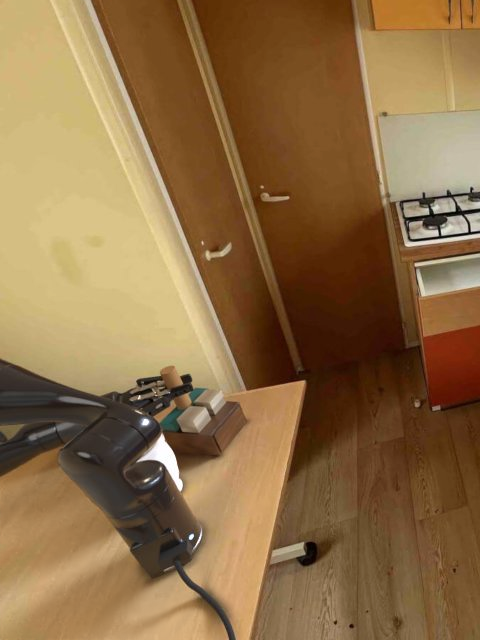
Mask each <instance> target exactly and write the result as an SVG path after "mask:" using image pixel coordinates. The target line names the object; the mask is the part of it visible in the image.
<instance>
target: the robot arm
mask: <svg viewBox="0 0 480 640" xmlns="http://www.w3.org/2000/svg"><path fill="white" fill-rule="evenodd" d="M179 376H180V378H181V380H182V382H183V384H182V385H180V386H177V387H174V388H171V391H170V390H168V388H167V386H166V384H165V382H164V380H163V378H162V376H161V375H156V376H149V377H140V378H138V379H136V381H135V382H136V385H135V386H134V387H132V388H130V389H128V390H127V391H124V392H118V391H111V392H107V393H105V394H102V395H96V394H93V393H90V392H87V391H84V390H80V389H77V388H74V387H72V386H69V385H66V384H64V383H61V382H58V381H56V380H54V379H51V378H49V377H46V376H44V375H41V374H39V373H36V372H35V371H32V370H30V369H28V368H26V367H24V366H21V365H19V364H16V363H14V362H12V361H9V360H6V359H4V358H2V357H0V426H1V427H4V426H18V425H21V426H20V427H19V428H18V430H17V431H16V432H15V433H14V434H13V435H12V436H11V437H10V438H8V436H7V435H6V433H4V431H2V430H1V429H0V478H2V477H4V476H6V475H7V474H9V473H11V472H13V471H15V470H17V469H18V468H20V467H22V466H23V465H25V464H27V463H29V462H31V461H32V460H34V459H35V458H37V457H39V456H40V455H42V454H46V453H49V452H51V451H54V450H57V449H59V448H60V450H59V451H58V452H57V462H58V465H59V466H60V469H61V470H62V471H63V472H64V473H65V475H66V476H67V478H69V479H70V480H71V481H72V482H73V483H74V484H75V485H76V486H77V487H78V488H79V490H80V491H81V492H82V493H83V494H84V495H85V497H86V498H87V499H88V500H89V501H90V502H91V503H92V504H94V506H96V507H97V508H98V509H100V511H101V512H102V513H103V514H104V515H105V517H106V518H107V520H108V521H109V522H110V523H111V525H112V527H113V528H114V529H115V530H116V532H117V534H118V535H119V536H120V537H121V538H122V540H123V541H124V542H125V544H126V546H127V547H128V548H129V552H130V554H131V555H132V556H133V558H134V559H135V560H136V562H137V563H138V564H139V565H140V567H141V568H142V570H143V571H144V572H145V574H146V575H147V576H148V577H149V579H150V580H153V579H155V578H157V577H160V576H161V575H162V576H163V575H164V574H166V573H169V572H171V571H173V570H176V571H177V574H178V575H179V577H180V578H181V580H182V581H183V583H184V584H185V585H186V586H187V587H188V588H189V589H190V590H192V591H193V592H194V593H197V594H198V595H199V596H200V597H201V598H202V599H203V600H204V601H205V602H207V603H208V604H209V606H210V607H211V608H212V609H213V610H214V611H215V612H216V614H217V616H219V619H220V621H221V622H222V625H223V626H224V629H225V631H226V635H227V637H228V640H237V637H236V635H235V630H234V629H233V626H232V623H231V621H230V619H229V617H228V615H227V614H226V611H224V609H223V608H222V606H221V605H220V604H219V603H218V601H217V600H216V599H214V598H213V597H212V596H211V595H210V594H209V593H208V592H207V591H206V590H205V589H204V588H202V587H201V586H200V585H198V584H197V583H195V581H193V580H192V579H191V578H190V577H189V575H188V574H187V572H186V571H185V569H184V567H183V566H184V565H186V564H188V563H191V561H192V559H193V555H194V553H196V551H197V550H198V548H199V546H200V545H201V543H202V540H203V537H204V529H203V526H202V524H201V523H200V522H199V521H198V519H197V518H196V516H195V514H194V513H193V511H192V509H191V508H190V506H189V504H188V503H187V501H186V498H184V495H183V494H182V491H181V492H180V491H179V489H178V487H177V485H176V484H175V482H174V480H173V478H172V477H171V475H170V473H169V471H168V470H167V468H166V466H165V465H164V464H163V463H162V462H160V461H157V460H143V461H139V462H137V461H138V460H139V459H140V458H141V457H142V456H143V455H144V454H145V453H146V452H147V451H148V450H149V449H150V448H151V447H152V446H153V445H154V444H155V443H156V442H157V440H158V439H159V438H160V436H161V434H162V427H161V425H160V422H159V420H157V419H156V418H155V416H156V415H158V414H160V413H162V412H163V411H165V410H166V409H168V408H170V407H171V402H173V401H174V398H176V397H179V396H181V395H184V394H187V393H188V394H189V393H190V392H191V391H193V389H194V386H193V384H192V383H193V377H192V376H191V373H186V374H182V375H179Z"/></svg>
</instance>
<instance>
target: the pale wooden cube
mask: <svg viewBox="0 0 480 640" xmlns="http://www.w3.org/2000/svg"><path fill="white" fill-rule="evenodd" d="M176 420H177V422H178V424H179V426H180V428H181V429H182V431H183V432H192V433H199V432H200V431H201V430H202V429H203V428H204V427H205V426H206V425H207V423H208V422H209V421H210V420H211V417H210V415H209V413H208V411H207V409H206V407H197V406H189V407H188V408H187V409H186V410H185V411H184V412H183V413H182V414H181V415H180V416H179V417H178V418H177V419H176Z"/></svg>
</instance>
